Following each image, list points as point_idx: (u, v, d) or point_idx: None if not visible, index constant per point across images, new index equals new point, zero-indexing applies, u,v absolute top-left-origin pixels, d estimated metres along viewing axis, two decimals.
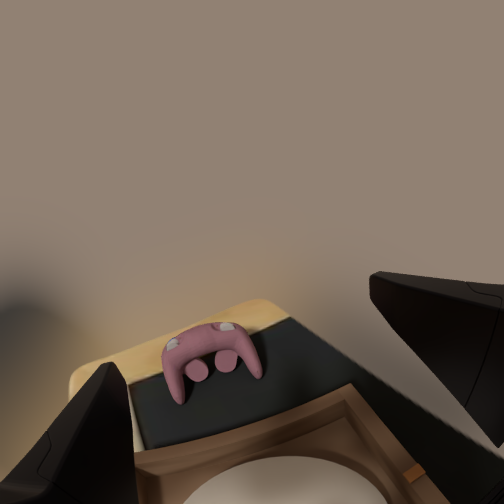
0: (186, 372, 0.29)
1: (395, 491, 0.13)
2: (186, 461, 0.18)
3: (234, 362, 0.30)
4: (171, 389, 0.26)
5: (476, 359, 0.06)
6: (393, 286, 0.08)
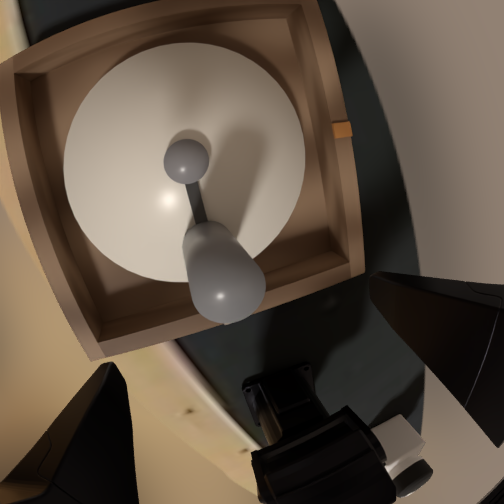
0: None
1: (310, 131, 0.18)
2: (83, 47, 0.11)
3: None
4: None
5: (477, 359, 0.06)
6: (393, 286, 0.08)
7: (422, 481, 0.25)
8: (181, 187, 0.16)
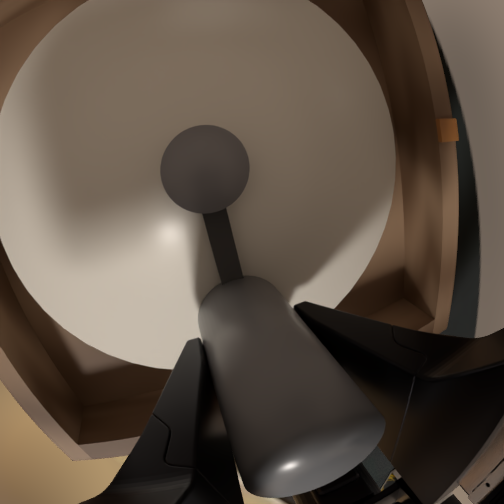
0: None
1: None
2: None
3: None
4: None
5: (398, 418, 0.05)
6: (311, 322, 0.08)
7: None
8: (195, 218, 0.09)
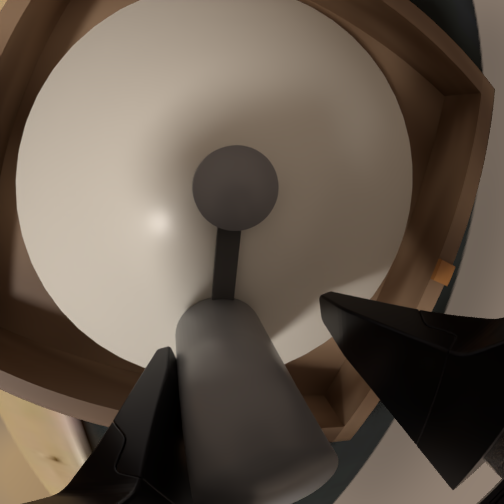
0: None
1: None
2: None
3: None
4: None
5: (427, 398, 0.05)
6: (339, 310, 0.08)
7: None
8: (209, 229, 0.09)
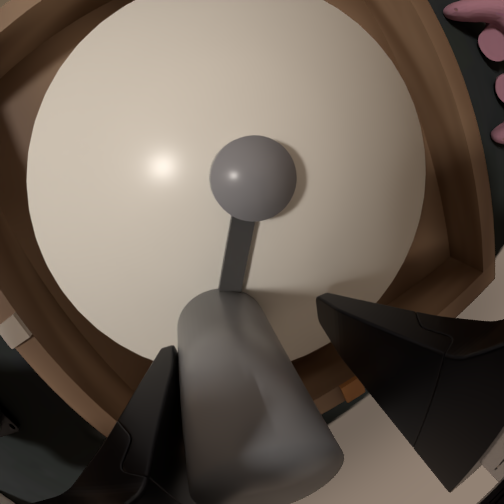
0: (489, 29, 0.09)
1: None
2: (393, 2, 0.07)
3: None
4: (467, 3, 0.08)
5: (423, 401, 0.05)
6: (336, 311, 0.08)
7: None
8: (222, 218, 0.09)
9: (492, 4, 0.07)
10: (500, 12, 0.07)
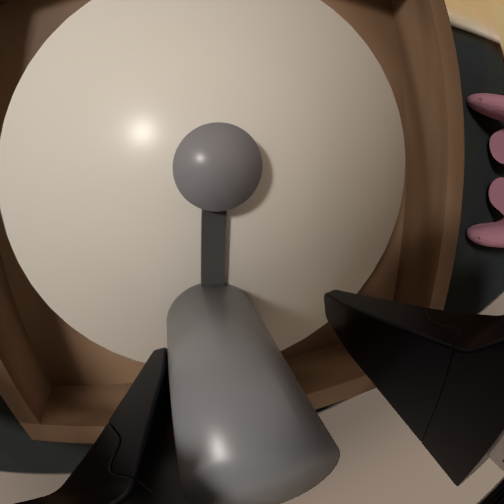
0: None
1: None
2: (425, 66, 0.09)
3: (497, 206, 0.14)
4: (494, 97, 0.11)
5: (432, 395, 0.06)
6: (344, 308, 0.08)
7: None
8: (193, 212, 0.08)
9: None
10: None
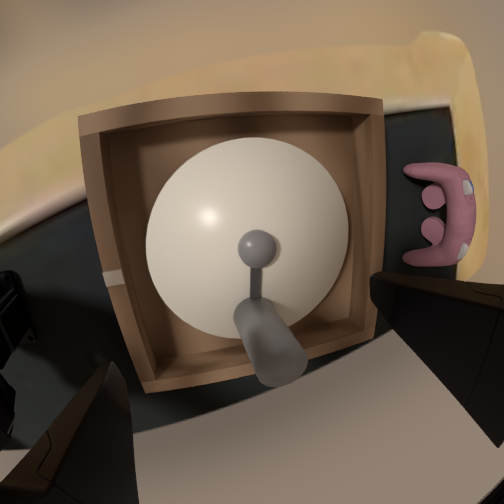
0: (435, 185, 0.23)
1: None
2: (365, 173, 0.20)
3: (427, 237, 0.25)
4: (421, 169, 0.22)
5: (476, 359, 0.06)
6: (393, 286, 0.08)
7: None
8: (246, 267, 0.20)
9: (440, 173, 0.21)
10: (444, 180, 0.21)
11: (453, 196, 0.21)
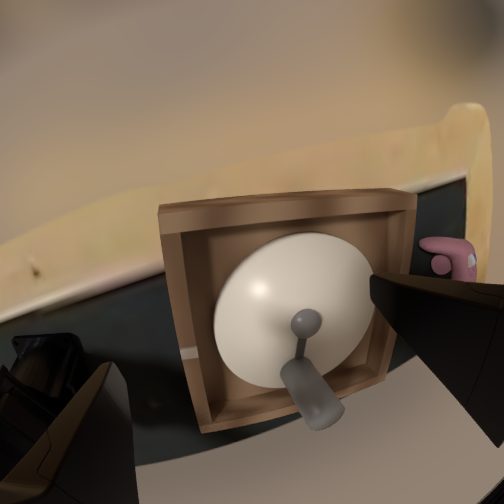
0: (443, 255, 0.27)
1: None
2: (394, 256, 0.23)
3: None
4: (435, 245, 0.25)
5: (477, 359, 0.06)
6: (393, 286, 0.08)
7: None
8: (295, 337, 0.23)
9: (450, 249, 0.25)
10: (453, 254, 0.25)
11: (458, 268, 0.25)
